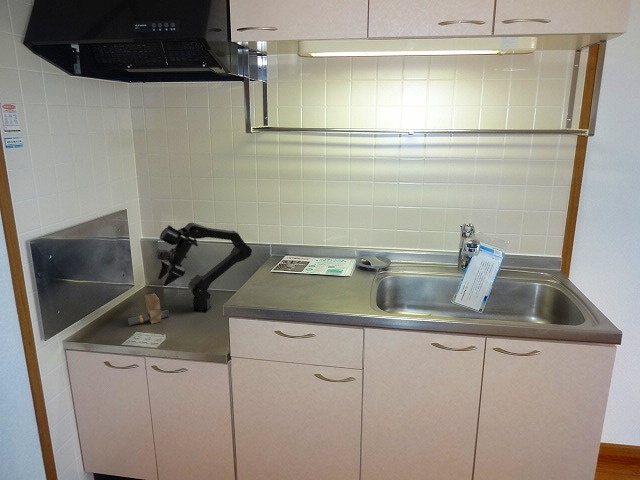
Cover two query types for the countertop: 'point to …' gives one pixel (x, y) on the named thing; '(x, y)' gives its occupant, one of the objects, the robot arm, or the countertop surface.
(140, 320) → the steel pipe
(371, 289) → the countertop surface
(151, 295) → the rectangular wooden block
